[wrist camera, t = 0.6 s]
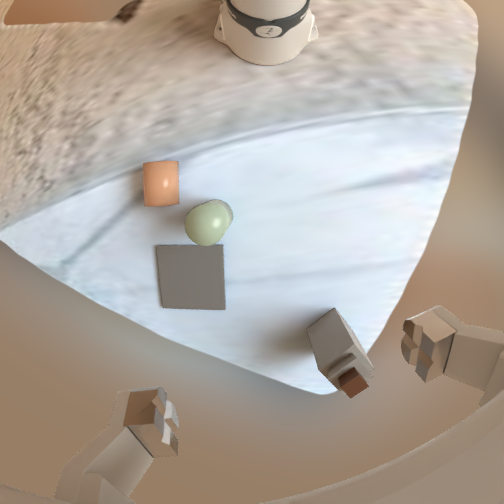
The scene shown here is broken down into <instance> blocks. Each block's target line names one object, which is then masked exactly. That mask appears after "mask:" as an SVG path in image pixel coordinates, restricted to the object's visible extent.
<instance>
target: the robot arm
mask: <svg viewBox="0 0 504 504" xmlns="http://www.w3.org/2000/svg"><path fill="white" fill-rule="evenodd" d="M221 1H223V4H220V13H219V17H218V20H217V23H216V26H215V30H214V38H215V39H216V40H218V41H220V42H222V43H224V44H226V45H228V46H229V47H230V49H231V50H232V51H233V52H234V53H235V54H236V55H237V56H239V57H240V58H242V59H244V60H246V61H248V62H251V63H254V64H259V65H276V64H281V63H284V62H287V61H289V60H291V59H293V58H294V57H296V56H297V55H298V54H299V53H300V52H301V50H302V49H303V48H304V47H305V46H306V45H307V44H309V43H312V42H314V41H315V40H317V39H318V35H319V34H318V30H317V27H316V25H315V22H314V15H312V13H311V10H310V8H309V6H310V0H221ZM221 28H222V30H220V29H221ZM403 331H404V332H405V333H406V334H405V335H404V337H403V338H402V342H401V350H402V354H403V356H404V358H405V360H406V361H407V362H408V363H409V364H411V365H415V366H416V368H415V372H416V373H417V374H418V375H419V376H420V377H421V379H422V380H423V381H424V382H425V383H426V382H428V381H430V380H432V379H434V378H436V377H438V376H440V375H442V374H444V375H446V376H448V377H451V378H453V379H456V380H458V381H460V382H463V383H465V384H468V385H470V386H472V387H475V388H477V389H480V390H482V391H484V393H483V396H482V398H481V399H480V403H479V405H480V406H481V407H480V408H479V409H478V410H476V411H475V412H473V413H472V414H471V415H469V416H468V417H467V418H465V419H463V420H462V421H461V422H459V423H458V424H456V425H455V426H453V427H451V428H450V429H449V430H447V431H445V432H443V433H442V434H441V435H439V436H437V437H435V438H434V439H432V440H430V441H428V442H427V443H425V444H423V445H421V446H420V447H418V448H416V449H414V450H412V451H410V452H408V453H406V454H404V455H402V456H400V457H398V458H396V459H394V460H392V461H390V462H388V463H386V464H383V465H381V466H379V467H377V468H374V469H372V470H370V471H368V472H365V473H362V474H360V475H357V476H354V477H352V478H349V479H347V480H344V481H341V482H338V483H335V484H332V485H329V486H326V487H323V488H320V489H317V490H313V491H310V492H306V493H303V494H299V495H295V496H291V497H287V498H283V499H278V500H274V501H269V502H263V503H259V504H504V331H499V330H494V329H489V328H485V327H480V326H475V325H468V326H467V325H466V324H464V323H463V322H462V321H461V320H459V319H458V318H457V317H455V316H454V315H453V314H452V313H450V312H449V311H448V310H446V309H445V308H444V307H443V306H440V305H437V306H435V307H433V308H431V309H429V310H427V311H425V312H423V313H420V314H418V315H416V316H413V317H411V318H409V319H406V320H405V322H404V324H403ZM178 426H179V423H178V417H177V412H176V410H175V407H174V406H173V404H172V403H171V402H169V401H167V393H166V392H165V390H164V388H163V387H151V388H141V389H133V390H121V391H119V392H118V393H117V395H116V398H115V402H114V405H113V409H112V413H111V416H110V421H109V424H108V427H104V428H103V429H102V430H101V431H100V432H99V433H98V434H97V435H96V436H95V437H93V438H92V439H91V440H90V441H89V442H88V443H87V444H86V445H85V446H84V447H83V448H82V449H81V450H80V451H79V452H78V453H77V454H76V455H75V456H74V457H73V458H72V459H71V460H70V461H69V462H68V463H67V464H65V466H64V467H62V469H61V472H60V476H59V479H58V483H57V487H56V491H55V495H54V499H52V498H48V497H44V496H40V495H37V494H34V493H30V492H27V491H24V490H21V489H18V488H15V487H12V486H9V485H6V484H4V483H1V482H0V504H137V503H135V502H134V501H133V500H131V499H130V498H129V496H130V494H131V493H132V491H133V490H134V488H135V487H136V485H137V484H138V482H139V481H140V479H141V478H142V476H143V475H144V473H145V472H146V470H147V469H148V467H149V466H150V464H151V463H152V461H153V460H154V459H153V458H159V457H170V456H177V455H178V439H177V437H176V436H175V433H176V432H177V430H178V428H179V427H178Z"/></svg>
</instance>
